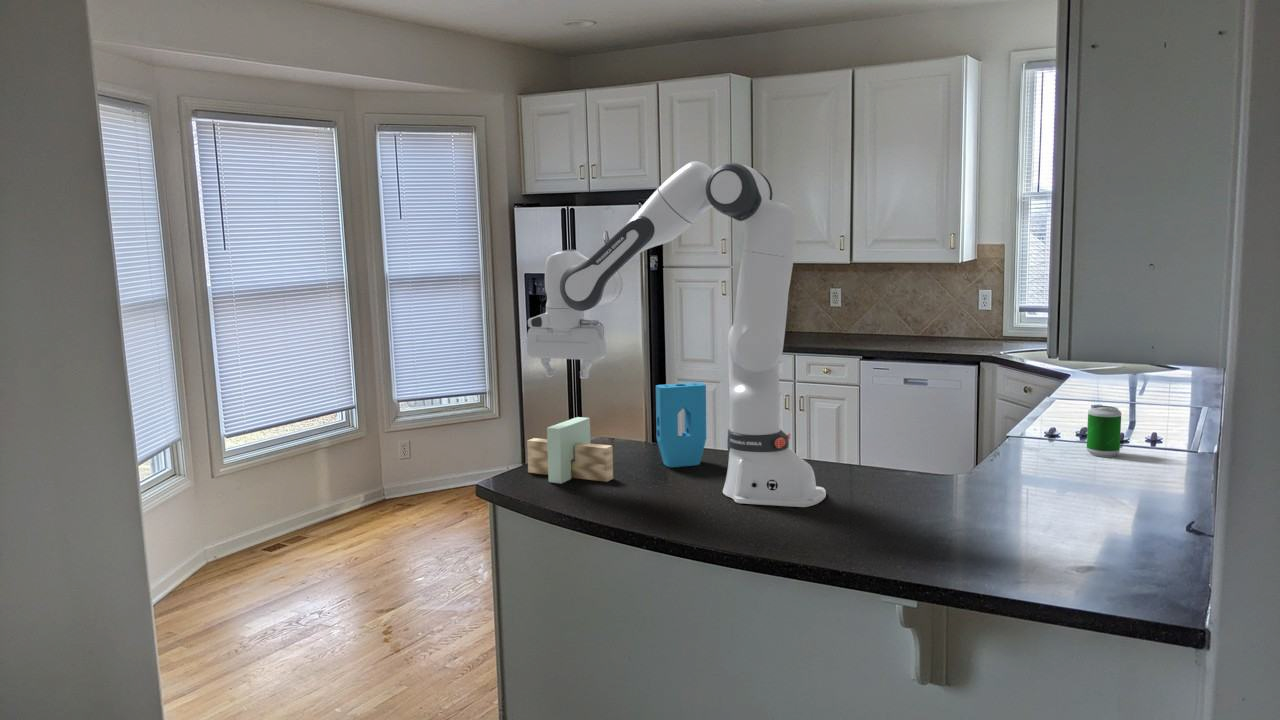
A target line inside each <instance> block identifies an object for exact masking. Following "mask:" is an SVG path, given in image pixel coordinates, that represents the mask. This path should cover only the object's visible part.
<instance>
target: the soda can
mask: <svg viewBox="0 0 1280 720" xmlns="http://www.w3.org/2000/svg"><path fill="white" fill-rule="evenodd" d="M1121 427H1122V411H1121V410H1119V408H1118V407H1117V406H1110V405H1092V406H1091V408H1089V409H1088V411H1087V432H1086V451H1087V452H1088V453H1089V455H1091V456H1094V457H1097V458H1098V457H1100V458H1114V457H1116V456H1117V454H1119V453H1120V451H1121V448H1120V447H1121V433H1122V431H1121V430H1122V428H1121Z"/></svg>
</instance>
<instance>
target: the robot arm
mask: <svg viewBox="0 0 1280 720" xmlns="http://www.w3.org/2000/svg"><path fill="white" fill-rule="evenodd" d="M712 208H714V209H715V210H716V211H718V212H720V213H721V214H723V215H725V216H728V217H729V218H732V219H734V220H736V221H738V222H742V224H743V226H744V239H743V240H744V241H743V247H742V255H741V261H740V267H739V273H738V281H737V287H736V298H735V306H734V307H735V308H734V316H733V324H732V325H731V327H730V329H729V332H728V335H727V336H728V337H727V351H728V353H727V355H728V386H729V387H728V388H729V391H728V392H729V428H728V430H727V439H726V441H727V443H726V445H727V446H726V447H727V455H728V465H727V470H726V476H725V481H724V486H723V489H722V493H723V495H724V496H725V497H728V498H731V499H732V500H733V501H734V502H735V503H737V504H746V505H747V504H748V505H761V506H777V507H778V506H779V507H794V508H795V507H797V508H809V507H811V506H815V505H818V504H819V503H821V502H822V501H823V500H824V499H826V497H827V491H826V489H825V488H824V487H822V486H819V485H818V486H817V483H816V476H815V472H814V471H815V470H814V469H813V467H812V465H811V464H809V462H807V461H806V460H804V459H803V458H802V457H800V456H799V455H798V454H797V453H795V451H793V450H792V449H791V448H790V447H789V445H790V439H791V433H788V434H786V433H785V432H784V431H783V430H782V429H781V389H780V376H779V373H780V372H779V361H780V359H781V357H782V355H783V351H784V345H785V344H784V343H785V336H786V325H787V316H788V315H787V314H788V303H789V301H788V300H789V291H790V287H791V286H790V285H791V280H792V272H793V267H794V266H793V265H794V259H795V258H794V257H795V253H796V243H797V220H796V219H797V218H796V213H795V211H794V210H793V209H792V208H791V207H790V206H789V205H787V204H785V203H783V202H779V201H773V188H772V186H771V182H770V181H769V180H768V179H767V177H766V175H764V174H762V173H760V172H759V171H757V170H756V169H755V168H753V167H750V166H748V165H744V164H739V163H736V162H735V163H734V162H728V163H724V164H721V165H719V166H717V167H716V168H714V169H713V168H712V167H710V166H709V165H708V164H705V163H704V162H700V161H698V160H695V161H694V160H693V161H689V162H688V163H686V164H685V165H684V166H682V167H681V168H679V169H677V171H675V172H674V173H673V174H672V175H671V176H669V177H668V178H667V179H666V180H665V181H664V182H663V183H661V185H659V186H658V188H656V190H654V192H653V193H652V194H651V195H649V198H647V199H646V201H645V202H644V203H643V204H642V205H641V206H640V208H639V209H638V210H637V211H636V212H635V214H634V215H633V216H632V217H631V218H630V219H629V221H627V222H626V224H625V225H624V226H623V227H622V228H621V229H620V230H619V231H618V232H616V234H614V235H613V236H612V237H611V238H610V239H608V241H607V242H606V243H605V244H604V245H603V246H601V248H599V249H598V250H597V251H596V252H595V253H594V254H593V255H592V256H591V257H587V256H585V255H584V254H582V253H581V252H580V251H579V250H577V249H566V250H560V251H556V252H555V251H554V252H553V253H550V254H549V255H548V256H547V257H546V260H545V265H544V290H545V293H546V303H545V312H544V313H541V314H538V315H536V316H533V317H530V318H528V320H527V326H528V327H529V329H528V331H527V333H526V335H527V336H526V352H527V356H529V357H530V358H533V359H536V358H538V359H540V362H541V365H542V367H543V368H544V370H545V377H547V378H553V377H555V376H556V373H555V371H556V370H555V369H556V368H552V366H551V364H550V362H551V359H560V360H582V361H583V362H582V363H583V365H585V366H584V368H583V370H580V371H579V378H580V379H589V378H590V370H591V368H592V367H593V363H594V361H599V360H603V359H604V358H605V357H606V356H607V345H606V339H605V326H604V325H603V323H602V322H601V321H599V320H597V319H592V320H591V319H585V317H584V314H585V313H584V312H585V311H588V310H591V309H593V308H595V307H600V306H604V305H607V304H610V303H612V302H613V301H616V300H617V298H619V296H620V295H621V293H622V289H623V280H622V279H623V278H622V276H621V274H620V271H621V270H622V269H623V268H624V267H625V266H626V265H627V264H628V263H629V262H630V261H631V260H632V259H634V258H635V257H636V256H637V255H640V254H641V253H643V252H645V251H647V250H649V249H652V248H654V247H658V246H661V245H663V244H668V243H671V242H672V241H673V240H675V239H676V238H678V237H679V236H681V235H682V234H683V233H685V232H686V231H687V230H688V229H689V228H691V226H692V225H693V224H694V223H695V222H696V221H697V220H698V219H699V218H700V217H701V216H702V215H703V214H704V213H706V212H707V211H708V210H709V209H712Z"/></svg>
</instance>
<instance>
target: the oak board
mask: <svg viewBox="0 0 1280 720" xmlns="http://www.w3.org/2000/svg"><path fill="white" fill-rule="evenodd" d="M526 441H527V442H526V444H527V445H526V446H527V448H526V449H527V472H528V473H530V474H538V475H545V476H546V475H547V476H548V448H547V438H539V437H538V438H537V437H533V438H531V439H527V440H526ZM590 443H591V442H590ZM590 443H579V444H577V445H575V459H573V460H571V479H581V480H589V481H599V482H605V483H606V482H607V483H608V482H609V481H611V480H614V461H613V458H614V455H613V445H610V444H599V443H597V444H596V443H591V444H590Z"/></svg>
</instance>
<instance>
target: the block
mask: <svg viewBox="0 0 1280 720" xmlns="http://www.w3.org/2000/svg"><path fill="white" fill-rule="evenodd" d="M682 410H684V411H683V412H684V432H683V431H682V432H681V435H679V423H678V422H679V420H678V419H679V416H678V415H679V413H680V412H681V411H682ZM655 420H656V422H655V423H656V427H655V428H656V429H655V430H656V433H655V434H656V442H657V446H658V449H659V452H660V456H661V459H662V462H663V465H664V466H666V467H667V468H680V467H682V468H683V467H691V466H699V465H701V461H702V457H703V453H704V449H705V445H706V441H707V385H706V384H705V383H704V382H684V383H668V384H667V383H665V384H657V385H655Z"/></svg>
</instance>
